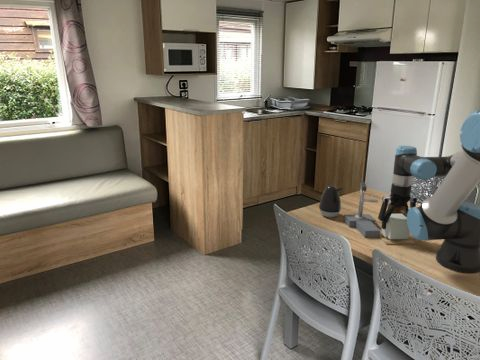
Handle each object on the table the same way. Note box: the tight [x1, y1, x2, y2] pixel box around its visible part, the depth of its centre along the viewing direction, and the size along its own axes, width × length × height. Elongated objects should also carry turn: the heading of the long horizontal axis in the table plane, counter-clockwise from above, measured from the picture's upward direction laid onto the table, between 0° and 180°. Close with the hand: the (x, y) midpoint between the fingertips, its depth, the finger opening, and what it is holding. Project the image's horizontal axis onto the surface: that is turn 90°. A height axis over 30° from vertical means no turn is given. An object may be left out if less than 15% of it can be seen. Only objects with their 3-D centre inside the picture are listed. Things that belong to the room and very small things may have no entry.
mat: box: [378, 231, 416, 246], centre depth 161 cm, size 12×12×1 cm
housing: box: [343, 213, 381, 238], centre depth 170 cm, size 18×12×4 cm, turn 5°
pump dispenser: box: [318, 185, 344, 219], centre depth 183 cm, size 10×10×15 cm
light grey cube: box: [380, 214, 411, 239], centre depth 159 cm, size 8×8×8 cm
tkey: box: [357, 181, 379, 217], centre depth 172 cm, size 8×8×15 cm
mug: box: [387, 202, 405, 216], centre depth 172 cm, size 12×8×9 cm, turn 6°
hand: (394, 235), depth 161 cm, fingers closed on light grey cube, 8 cm apart
